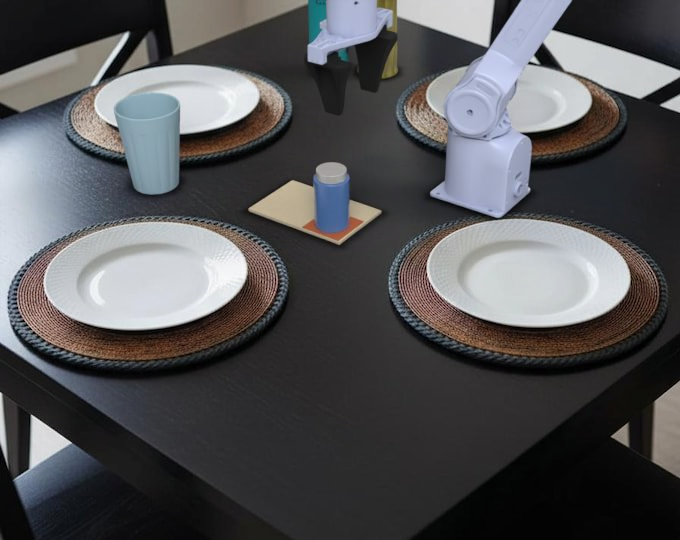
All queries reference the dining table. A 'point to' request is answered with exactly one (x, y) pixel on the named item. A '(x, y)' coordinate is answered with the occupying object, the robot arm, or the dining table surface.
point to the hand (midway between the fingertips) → (351, 101)
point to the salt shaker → (331, 197)
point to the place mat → (308, 211)
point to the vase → (390, 2)
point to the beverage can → (315, 17)
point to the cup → (150, 140)
